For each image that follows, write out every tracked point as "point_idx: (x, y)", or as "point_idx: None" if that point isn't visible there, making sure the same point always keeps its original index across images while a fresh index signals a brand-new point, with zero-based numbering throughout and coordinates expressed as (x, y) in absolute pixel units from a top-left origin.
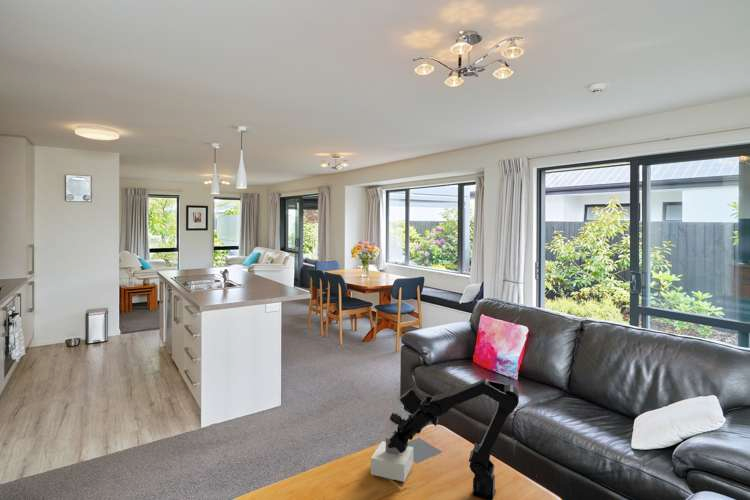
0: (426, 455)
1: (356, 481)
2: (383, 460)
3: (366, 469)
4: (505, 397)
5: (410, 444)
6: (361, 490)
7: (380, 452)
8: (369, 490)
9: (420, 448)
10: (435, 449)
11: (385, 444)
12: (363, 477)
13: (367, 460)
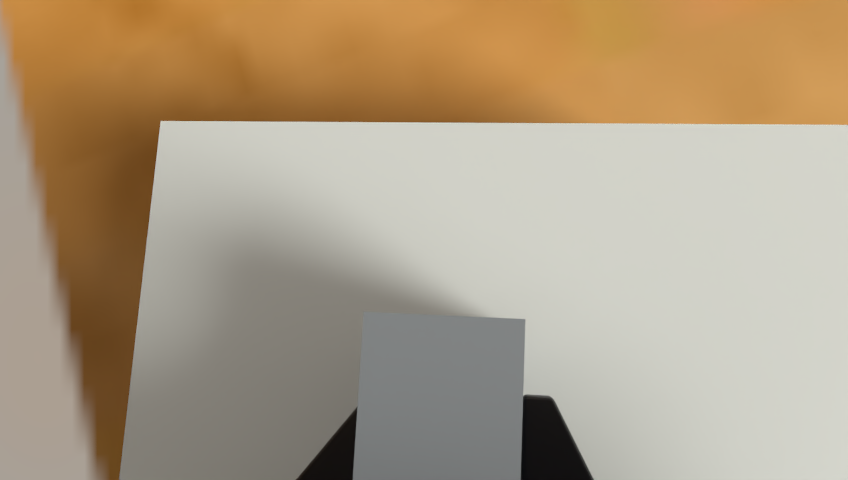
0: None
1: (213, 70)
2: (143, 370)
3: (466, 91)
4: None
5: None
6: (82, 176)
7: (396, 231)
8: (100, 258)
9: None
10: None
11: (745, 239)
12: (303, 115)
13: (664, 33)
